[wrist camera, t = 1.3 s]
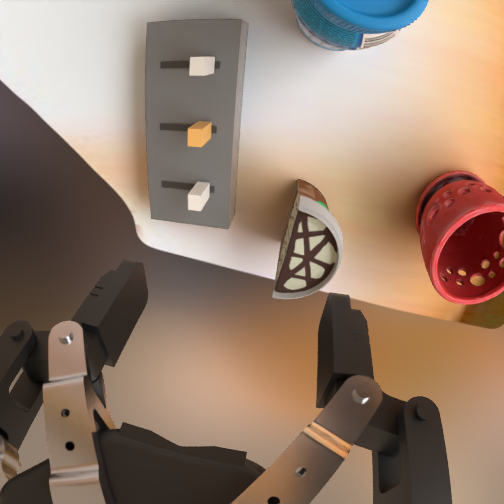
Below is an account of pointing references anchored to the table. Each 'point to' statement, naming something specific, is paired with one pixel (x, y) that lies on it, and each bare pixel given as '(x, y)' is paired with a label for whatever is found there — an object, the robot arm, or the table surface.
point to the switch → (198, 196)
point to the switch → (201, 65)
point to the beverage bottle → (354, 21)
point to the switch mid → (199, 133)
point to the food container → (307, 245)
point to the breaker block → (193, 117)
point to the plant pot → (462, 236)
